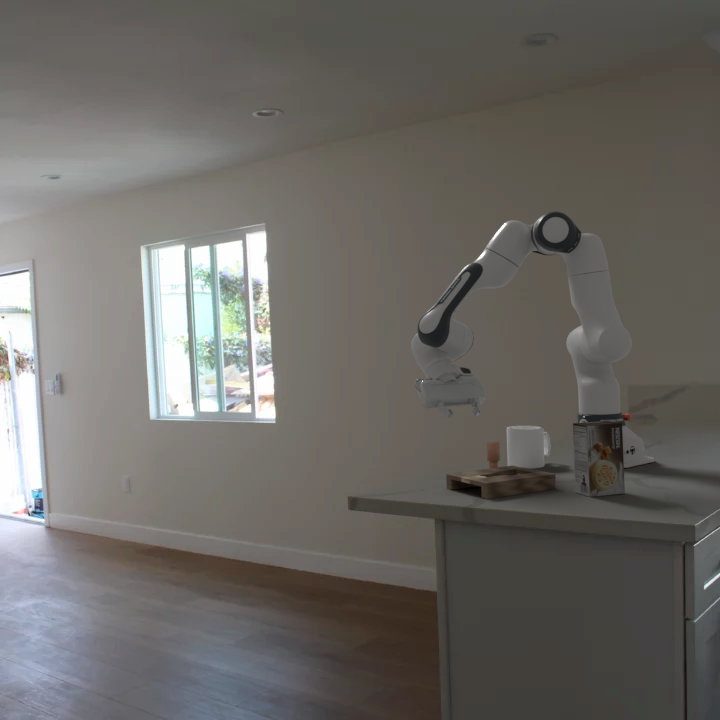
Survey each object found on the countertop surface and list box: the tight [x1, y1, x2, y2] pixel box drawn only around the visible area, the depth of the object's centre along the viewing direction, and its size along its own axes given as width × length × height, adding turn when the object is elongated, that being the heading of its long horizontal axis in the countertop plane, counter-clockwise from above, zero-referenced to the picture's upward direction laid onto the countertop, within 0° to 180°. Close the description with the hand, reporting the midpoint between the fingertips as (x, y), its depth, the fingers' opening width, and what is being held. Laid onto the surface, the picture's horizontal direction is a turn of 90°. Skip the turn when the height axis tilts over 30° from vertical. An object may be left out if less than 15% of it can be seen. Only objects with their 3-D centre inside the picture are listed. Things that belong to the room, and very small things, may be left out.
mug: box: [506, 425, 551, 469], centre depth 224 cm, size 14×10×11 cm
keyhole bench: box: [445, 465, 557, 500], centre depth 191 cm, size 20×16×4 cm
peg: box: [486, 441, 501, 469], centre depth 206 cm, size 5×5×9 cm
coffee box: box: [572, 421, 626, 498], centre depth 181 cm, size 9×6×16 cm
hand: (464, 415), depth 216 cm, fingers open, 8 cm apart
